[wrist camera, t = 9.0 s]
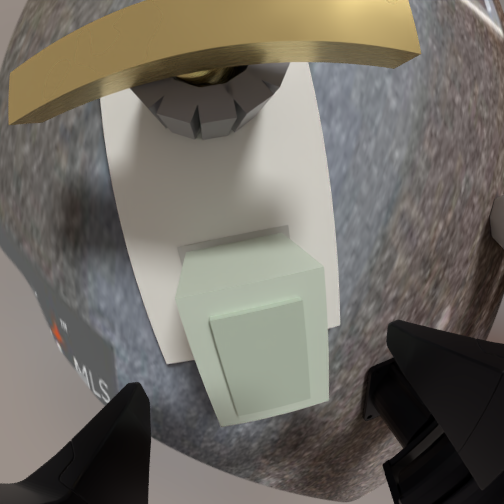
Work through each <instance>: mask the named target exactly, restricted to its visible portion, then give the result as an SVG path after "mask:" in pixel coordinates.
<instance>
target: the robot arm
mask: <svg viewBox="0 0 504 504" xmlns="http://www.w3.org/2000/svg"><path fill="white" fill-rule="evenodd" d="M386 342H387V346H388V348H389V350H390V352H391V353H392V355H393V357H394V358H392V359H389V360H387V361H385V362H382V363H380V364H377V365H375V366H373V367H372V368H371V369H370V370H369V374H368V382H367V390H366V397H365V404H364V411H363V418H364V420H365V421H368V420H371V419H373V418H375V417H378V416H381V417H382V418H383V420H384V421H385V423H386V424H387V426H388V427H389V429H390V430H391V431H392V433H393V434H394V436H395V437H396V439H397V440H398V441H399V443H400V444H401V446H402V447H403V449H402V450H401V451H400V452H399V453H398V454H396V455H395V456H394V457H393V458H392V459H390V460H387V461H386V462H385V463H384V464H383V468H384V471H385V476H386V479H387V482H388V485H389V488H390V491H391V495H392V498H393V501H394V504H504V344H501V343H494V342H489V341H485V340H480V339H475V338H471V337H467V336H463V335H458V334H454V333H450V332H446V331H442V330H437V329H433V328H429V327H425V326H421V325H417V324H413V323H409V322H405V321H401V320H396V321H393V322H391V323H389V325H388V330H387V340H386ZM150 448H151V426H150V402H149V398H148V397H147V395H146V393H145V391H144V389H143V387H142V385H141V384H140V383H139V382H133V383H128V384H127V385H126V386H125V387H124V388H123V389H122V390H121V391H120V392H119V393H118V394H117V395H116V396H115V397H114V398H113V399H112V400H111V401H110V402H109V403H108V404H107V405H106V406H105V407H104V408H103V409H102V410H101V411H100V412H99V413H98V414H97V415H96V416H95V417H94V418H93V419H92V420H91V421H90V422H89V423H88V424H87V425H86V426H85V427H84V428H83V429H82V430H81V431H80V432H79V433H78V434H76V435H75V436H74V438H72V440H71V441H69V442H68V443H67V444H66V445H65V446H64V447H63V448H62V449H61V450H60V451H59V452H58V453H57V454H56V455H55V456H53V457H52V458H51V459H50V460H49V461H48V462H46V463H45V464H44V465H43V466H41V467H40V468H39V469H37V470H36V471H35V472H34V473H33V474H31V475H30V476H29V477H27V478H26V479H24V480H23V481H20V482H17V483H12V484H0V504H148V485H149V484H148V483H149V463H150Z"/></svg>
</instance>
